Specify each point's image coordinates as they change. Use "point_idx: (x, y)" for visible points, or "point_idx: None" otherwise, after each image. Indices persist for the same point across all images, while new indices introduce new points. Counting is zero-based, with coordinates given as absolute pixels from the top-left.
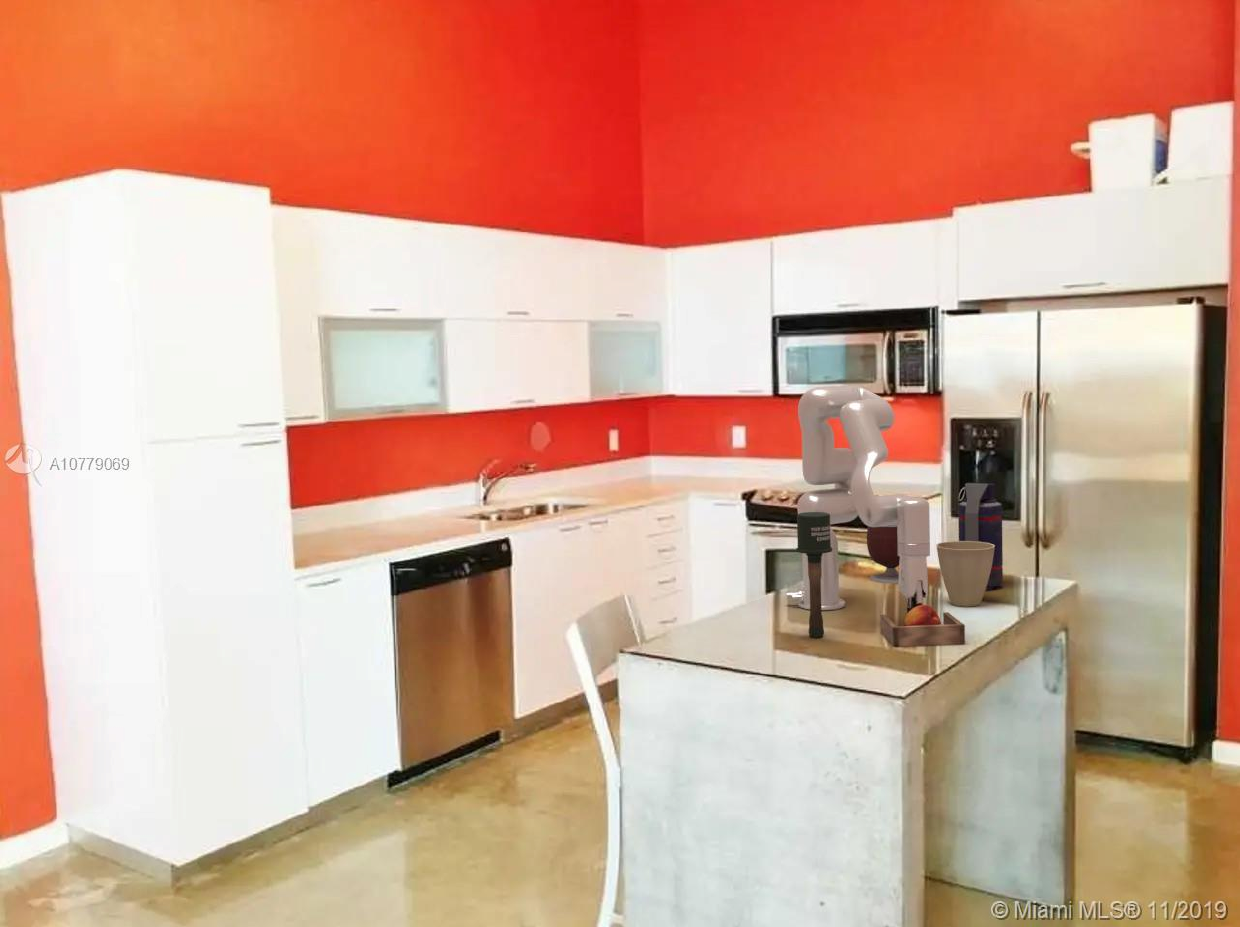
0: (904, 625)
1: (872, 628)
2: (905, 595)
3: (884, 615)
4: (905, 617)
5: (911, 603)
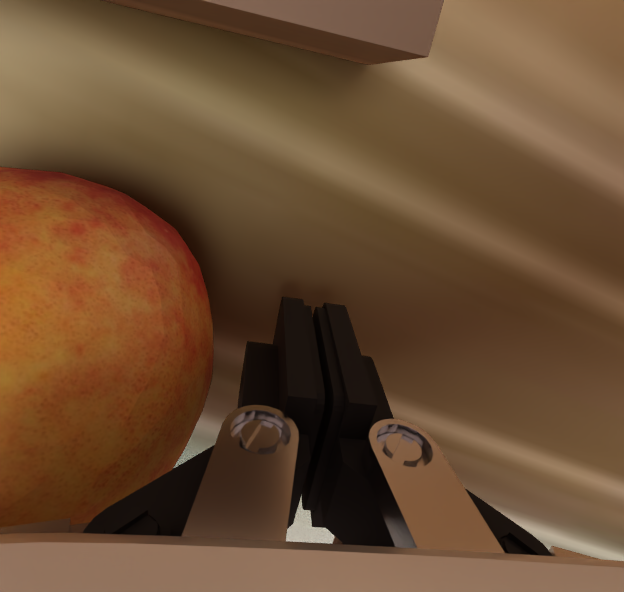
0: (72, 179)
1: (590, 16)
2: (76, 572)
3: (389, 15)
4: (12, 220)
5: (200, 484)
